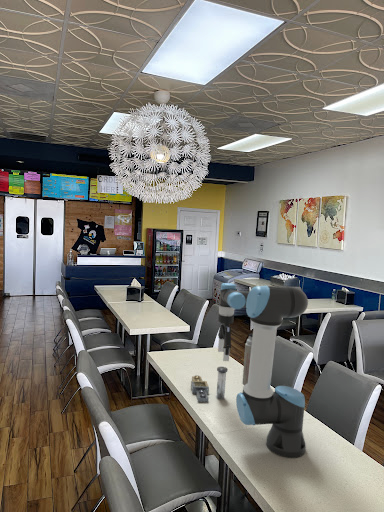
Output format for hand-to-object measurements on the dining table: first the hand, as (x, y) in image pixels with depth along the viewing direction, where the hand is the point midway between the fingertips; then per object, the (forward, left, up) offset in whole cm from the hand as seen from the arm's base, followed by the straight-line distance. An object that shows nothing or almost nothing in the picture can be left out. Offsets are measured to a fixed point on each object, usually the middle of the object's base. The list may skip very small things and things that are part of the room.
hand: (223, 356), depth 196 cm
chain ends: (+8, +9, -21) cm, 25 cm away
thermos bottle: (+18, -20, -22) cm, 34 cm away
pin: (0, 0, -21) cm, 21 cm away
